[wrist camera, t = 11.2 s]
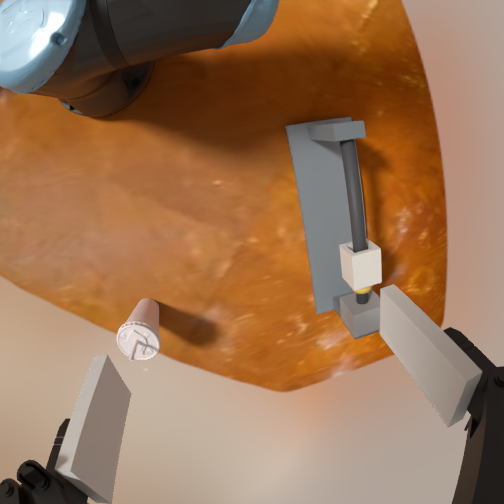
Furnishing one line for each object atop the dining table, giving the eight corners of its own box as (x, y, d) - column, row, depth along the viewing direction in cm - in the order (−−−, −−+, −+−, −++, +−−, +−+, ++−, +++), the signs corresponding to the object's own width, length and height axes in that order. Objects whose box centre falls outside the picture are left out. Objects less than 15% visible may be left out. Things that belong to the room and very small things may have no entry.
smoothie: (163, 289, 48) (149, 343, 35) (170, 322, 50) (161, 380, 37) (125, 292, 47) (102, 345, 34) (134, 325, 49) (117, 381, 36)
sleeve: (339, 244, 41) (351, 256, 37) (366, 237, 41) (380, 248, 37) (342, 277, 43) (354, 290, 39) (368, 269, 43) (381, 282, 39)
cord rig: (285, 126, 41) (310, 123, 30) (348, 116, 41) (389, 114, 31) (315, 311, 53) (339, 353, 42) (367, 296, 53) (398, 332, 42)
